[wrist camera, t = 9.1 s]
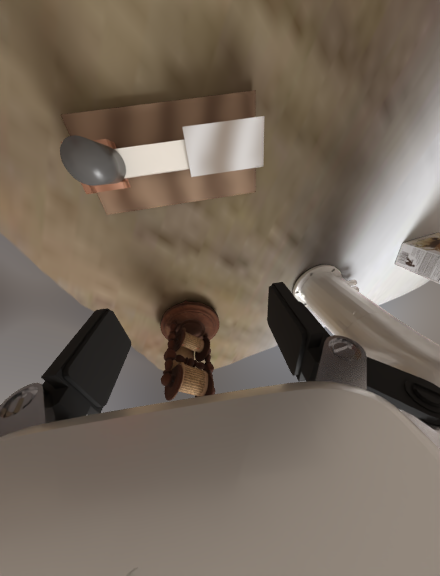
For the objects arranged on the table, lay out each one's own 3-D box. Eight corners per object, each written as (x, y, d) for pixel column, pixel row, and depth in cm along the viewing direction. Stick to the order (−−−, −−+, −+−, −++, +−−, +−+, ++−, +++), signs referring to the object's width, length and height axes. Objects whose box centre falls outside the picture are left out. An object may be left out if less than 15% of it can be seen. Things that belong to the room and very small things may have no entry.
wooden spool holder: (151, 326, 45) (127, 414, 28) (182, 288, 40) (175, 368, 23) (197, 345, 51) (199, 425, 35) (229, 314, 46) (249, 391, 29)
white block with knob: (191, 137, 24) (191, 119, 16) (197, 172, 26) (199, 170, 18) (88, 151, 23) (38, 139, 16) (103, 185, 25) (66, 189, 18)
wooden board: (252, 93, 24) (269, 71, 19) (253, 191, 30) (265, 194, 25) (66, 117, 23) (29, 100, 17) (109, 213, 29) (92, 221, 24)
